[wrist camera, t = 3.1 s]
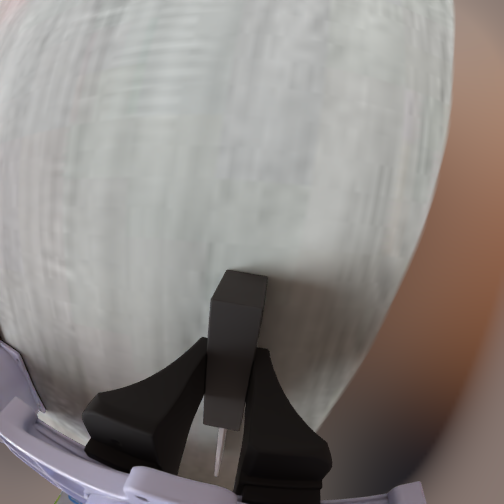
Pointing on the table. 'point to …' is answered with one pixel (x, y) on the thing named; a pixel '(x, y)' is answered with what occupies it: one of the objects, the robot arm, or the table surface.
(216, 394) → the knife
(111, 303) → the table surface
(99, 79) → the table surface
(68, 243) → the table surface
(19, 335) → the table surface
